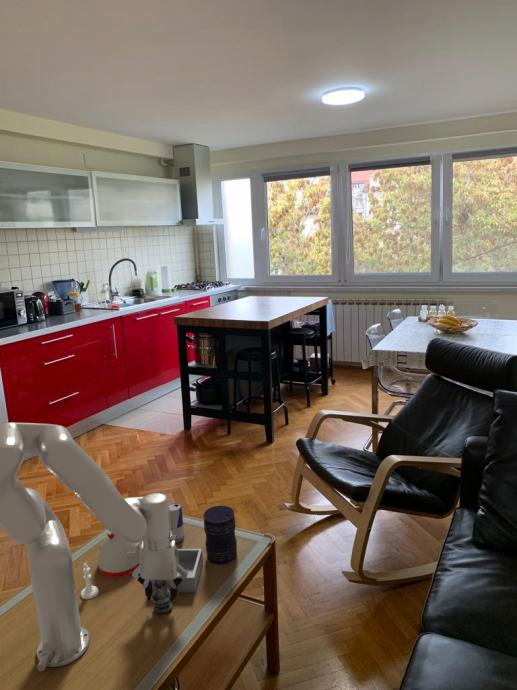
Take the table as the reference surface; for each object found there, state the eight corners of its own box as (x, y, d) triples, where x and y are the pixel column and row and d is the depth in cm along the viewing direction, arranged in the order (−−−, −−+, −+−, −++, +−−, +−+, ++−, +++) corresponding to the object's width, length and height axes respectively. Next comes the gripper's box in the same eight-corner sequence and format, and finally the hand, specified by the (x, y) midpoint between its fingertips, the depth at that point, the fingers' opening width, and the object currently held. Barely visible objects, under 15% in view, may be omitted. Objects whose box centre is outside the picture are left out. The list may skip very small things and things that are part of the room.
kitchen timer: (152, 556, 168) (147, 514, 165) (123, 582, 156) (117, 538, 153) (119, 545, 175) (114, 505, 171) (89, 570, 163) (83, 527, 159)
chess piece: (90, 585, 155) (86, 556, 153) (101, 590, 153) (97, 560, 151) (77, 595, 151) (72, 565, 149) (88, 601, 149) (84, 570, 147)
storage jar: (201, 562, 163) (197, 520, 160) (213, 544, 173) (210, 503, 169) (231, 567, 160) (227, 524, 157) (241, 548, 169) (239, 507, 166)
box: (195, 592, 150) (194, 577, 149) (149, 592, 151) (147, 577, 150) (203, 562, 163) (201, 548, 162) (160, 563, 164) (159, 549, 163)
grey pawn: (175, 599, 147) (172, 562, 144) (170, 614, 141) (167, 575, 138) (155, 599, 147) (152, 561, 145) (149, 614, 142) (145, 575, 139)
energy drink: (187, 536, 178) (184, 504, 175) (177, 544, 173) (174, 512, 171) (175, 532, 181) (172, 501, 178) (165, 540, 176) (162, 508, 173)
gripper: (191, 531, 143) (195, 589, 147) (130, 531, 144) (135, 588, 148) (186, 548, 135) (190, 608, 139) (121, 547, 137) (127, 606, 140)
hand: (161, 597), depth 143 cm, fingers closed on grey pawn, 5 cm apart
